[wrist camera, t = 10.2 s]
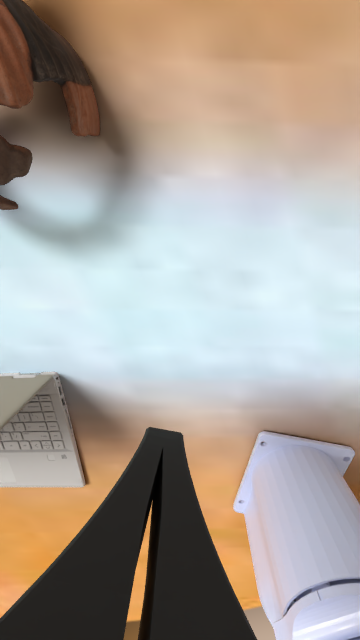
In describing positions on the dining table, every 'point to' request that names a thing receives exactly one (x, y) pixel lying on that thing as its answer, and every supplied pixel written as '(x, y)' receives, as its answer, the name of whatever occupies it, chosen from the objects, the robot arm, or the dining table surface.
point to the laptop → (36, 433)
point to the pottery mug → (38, 65)
